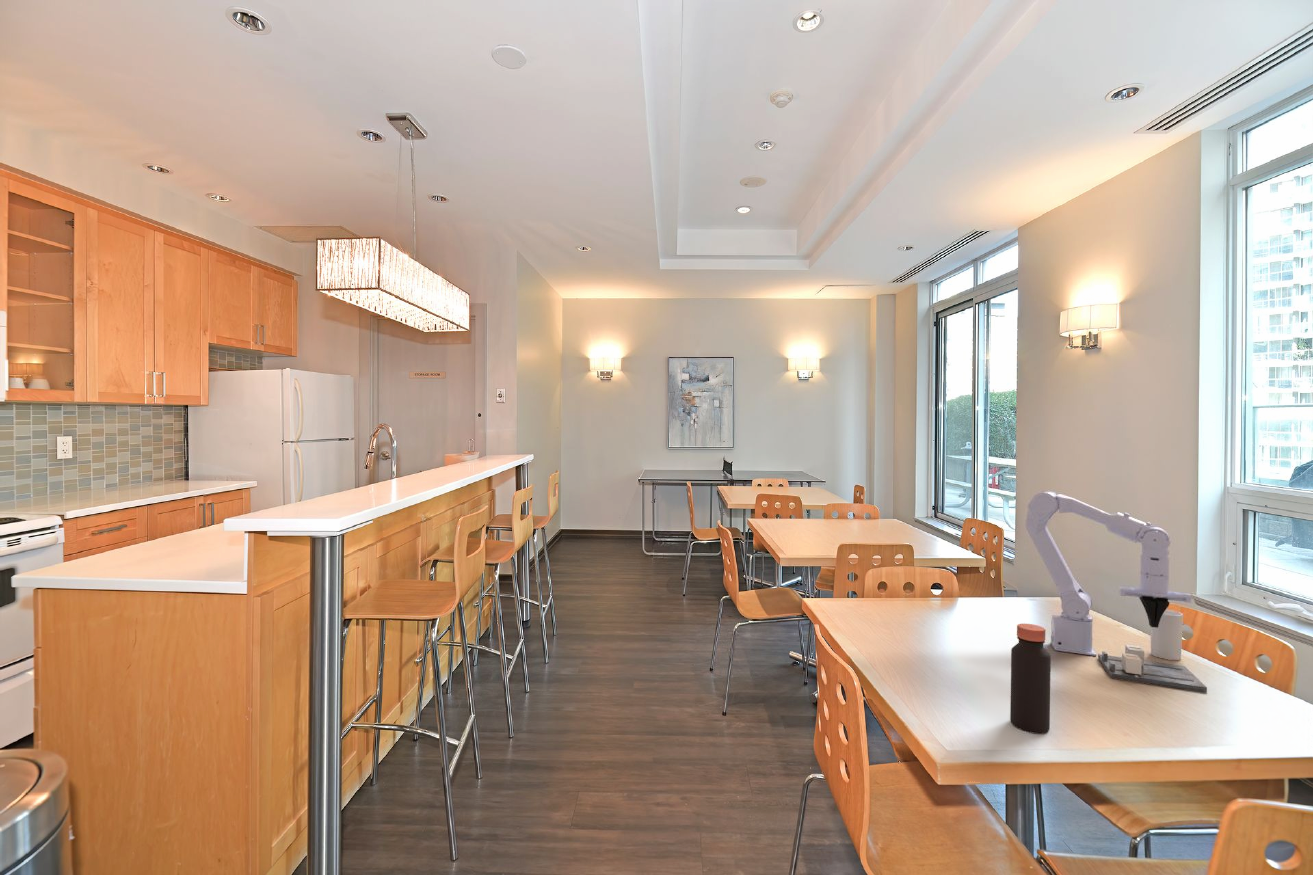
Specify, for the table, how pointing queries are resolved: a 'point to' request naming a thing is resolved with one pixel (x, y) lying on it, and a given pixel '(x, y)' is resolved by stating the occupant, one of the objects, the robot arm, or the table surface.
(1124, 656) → the fader near
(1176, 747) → the table surface
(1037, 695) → the bottle
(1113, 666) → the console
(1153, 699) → the table surface
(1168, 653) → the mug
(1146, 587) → the robot arm
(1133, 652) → the fader far
